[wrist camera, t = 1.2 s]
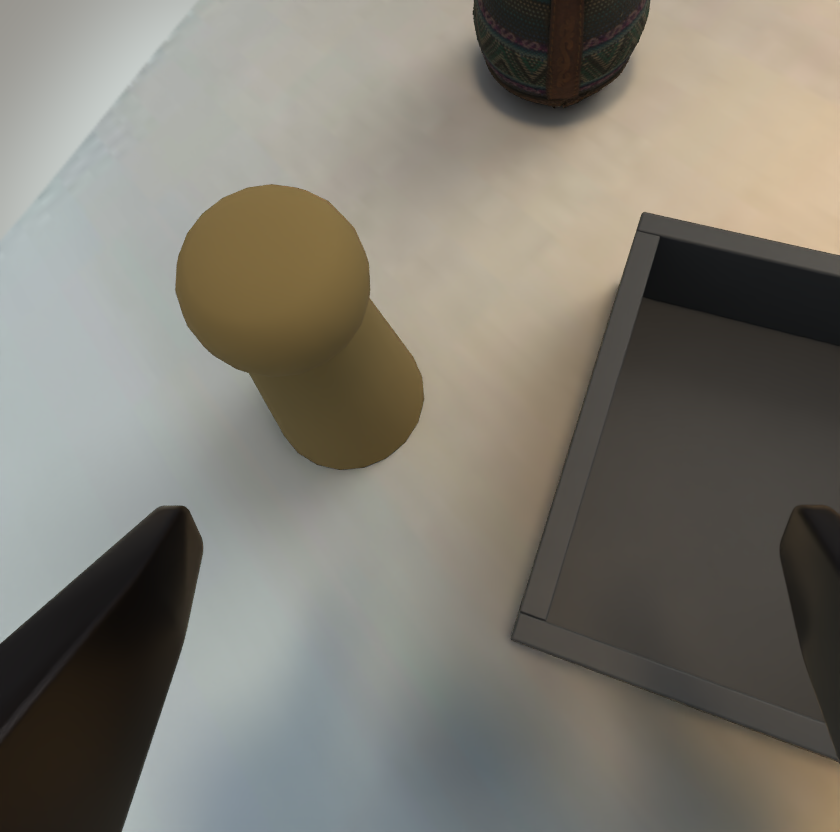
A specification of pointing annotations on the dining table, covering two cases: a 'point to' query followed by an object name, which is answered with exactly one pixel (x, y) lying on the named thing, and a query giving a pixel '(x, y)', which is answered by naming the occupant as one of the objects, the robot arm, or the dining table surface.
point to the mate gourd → (558, 44)
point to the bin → (697, 478)
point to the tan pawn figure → (300, 322)
